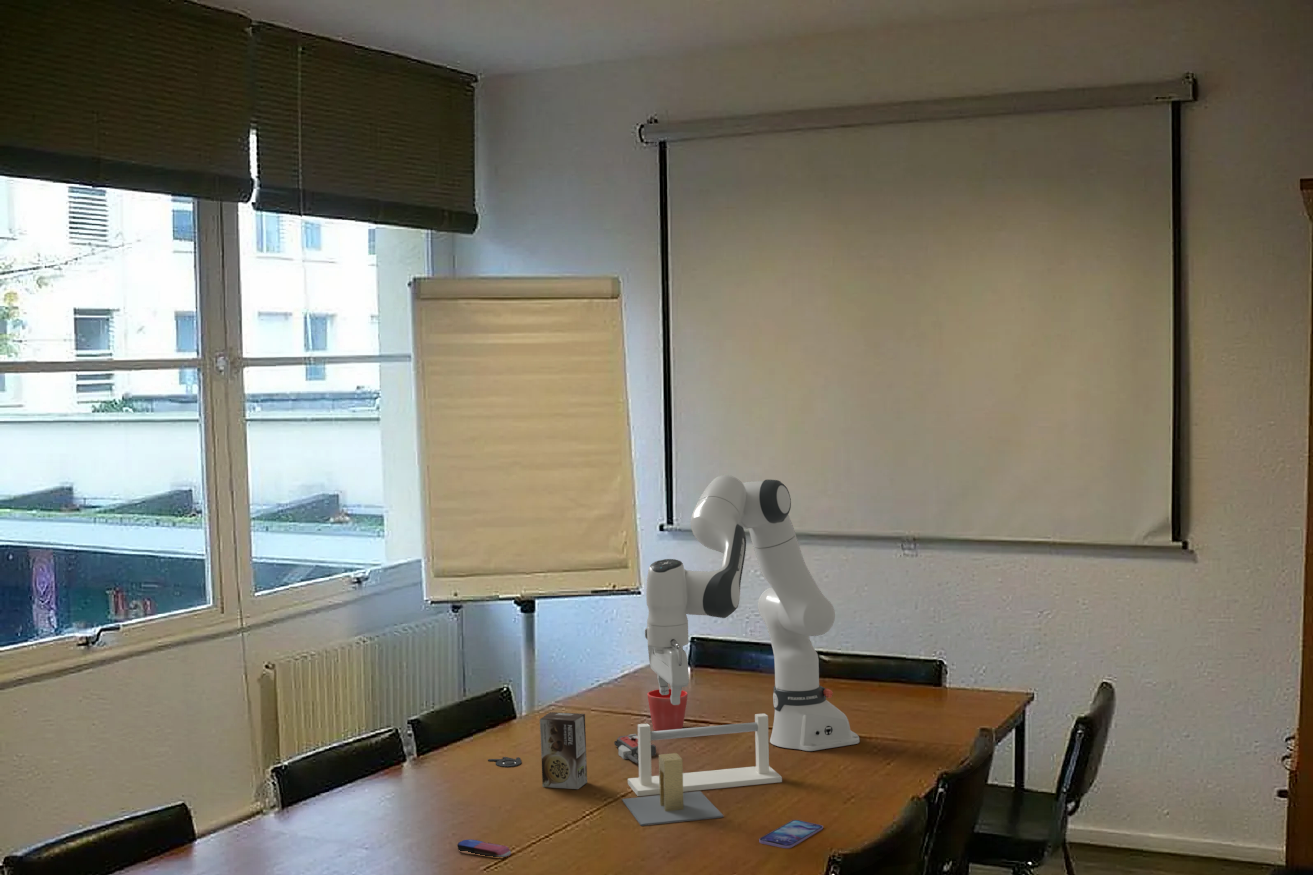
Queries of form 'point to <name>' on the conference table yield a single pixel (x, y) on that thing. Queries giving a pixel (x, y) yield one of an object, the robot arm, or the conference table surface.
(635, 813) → the rubber mat
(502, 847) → the eraser
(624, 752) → the walkie-talkie
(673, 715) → the flower pot
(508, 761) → the dark grey flat piece
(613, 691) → the conference table surface
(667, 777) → the c-link
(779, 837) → the smartphone
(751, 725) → the rod stand
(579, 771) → the coffee box
